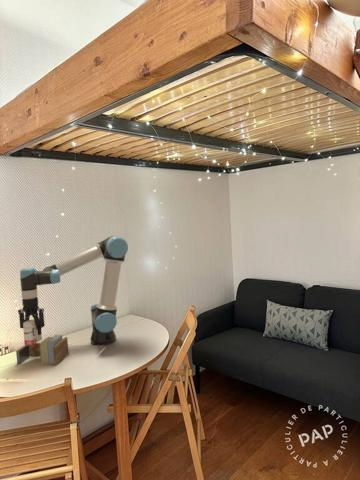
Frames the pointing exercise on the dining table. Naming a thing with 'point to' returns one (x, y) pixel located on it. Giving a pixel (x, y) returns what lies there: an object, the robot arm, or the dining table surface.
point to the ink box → (30, 332)
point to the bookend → (22, 354)
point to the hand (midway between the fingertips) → (33, 340)
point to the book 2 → (51, 343)
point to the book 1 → (44, 351)
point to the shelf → (59, 349)
